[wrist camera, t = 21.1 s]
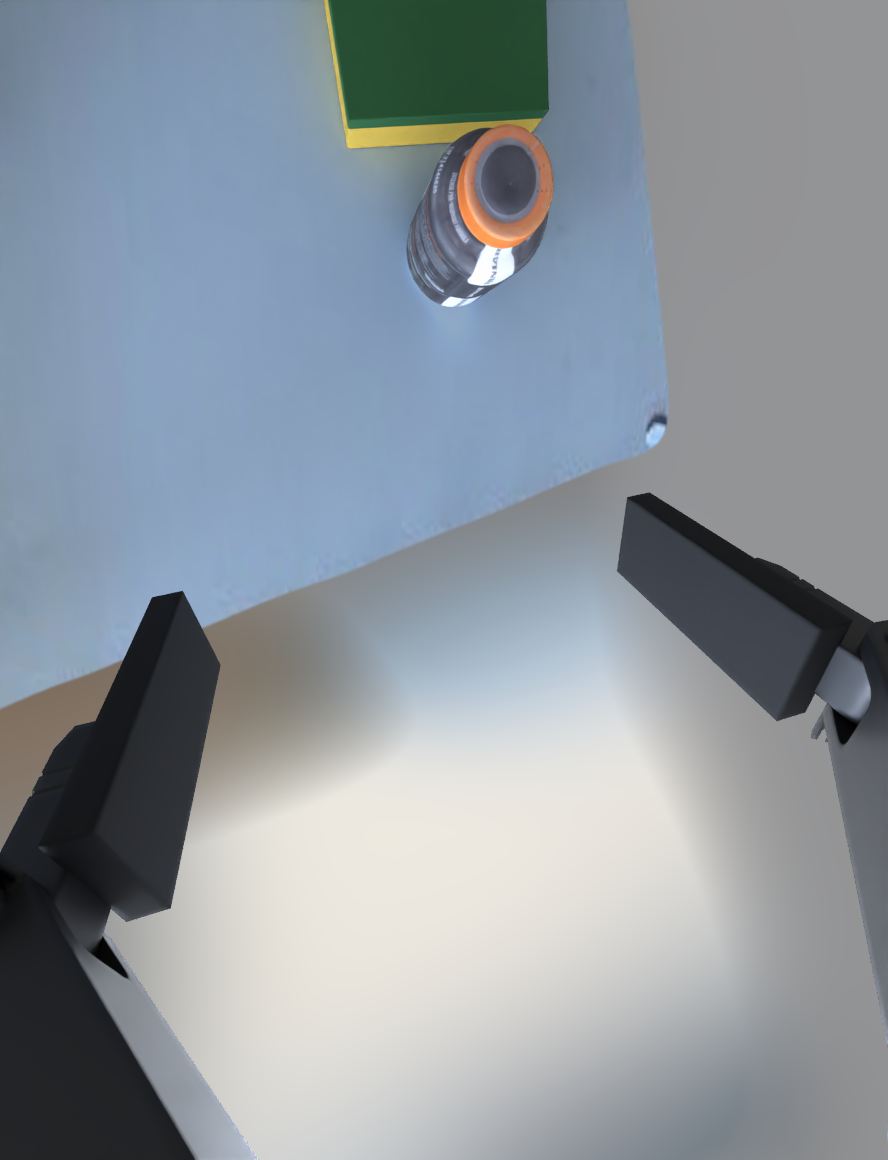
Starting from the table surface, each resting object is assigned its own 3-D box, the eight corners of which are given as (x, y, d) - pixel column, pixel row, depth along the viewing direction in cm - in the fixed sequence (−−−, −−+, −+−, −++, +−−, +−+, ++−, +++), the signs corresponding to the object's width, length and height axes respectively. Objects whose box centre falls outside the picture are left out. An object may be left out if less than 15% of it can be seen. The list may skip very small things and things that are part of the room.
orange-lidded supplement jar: (483, 319, 32) (552, 285, 21) (397, 292, 30) (427, 242, 20) (506, 215, 30) (595, 123, 19) (416, 181, 28) (460, 61, 18)
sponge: (347, 149, 27) (348, 121, 24) (317, -38, 24) (314, -95, 21) (528, 138, 28) (549, 110, 26) (521, -39, 25) (544, -93, 23)
